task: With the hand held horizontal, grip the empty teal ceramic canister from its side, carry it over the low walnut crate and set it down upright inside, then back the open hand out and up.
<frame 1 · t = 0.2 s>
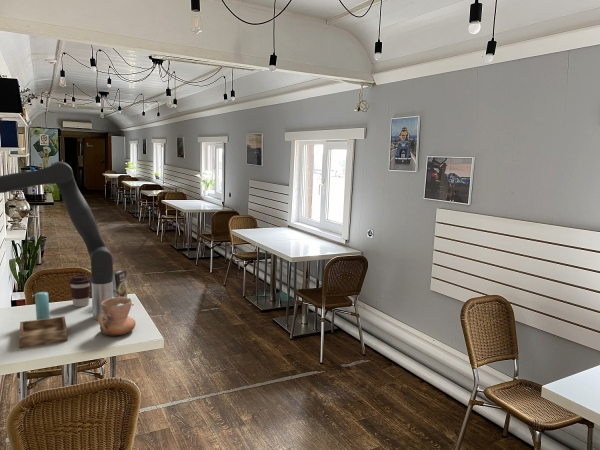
walnut crate: (43, 336, 197), on the table
coffee box: (117, 301, 243), on the table
ceramic jug: (117, 332, 204), on the table
teal canister: (43, 323, 211), on the table
coffee cup: (81, 304, 237), on the table
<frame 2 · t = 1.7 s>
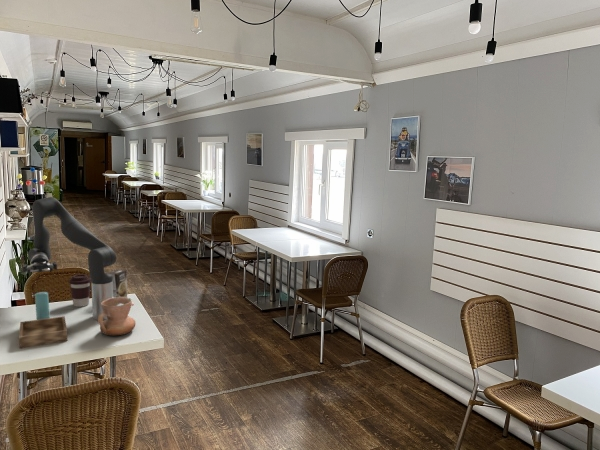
hand: (40, 270, 217), 22 cm above the table, tool horizontal, fingers open, 8 cm apart
nothing on the table moved.
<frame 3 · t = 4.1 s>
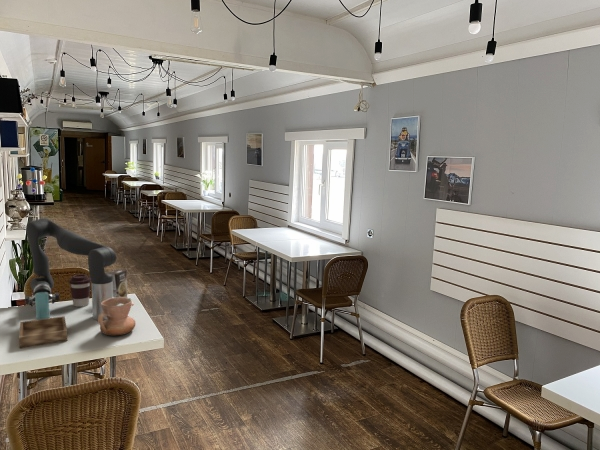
hand: (42, 302, 215), 8 cm above the table, tool horizontal, fingers open, 8 cm apart
nothing on the table moved.
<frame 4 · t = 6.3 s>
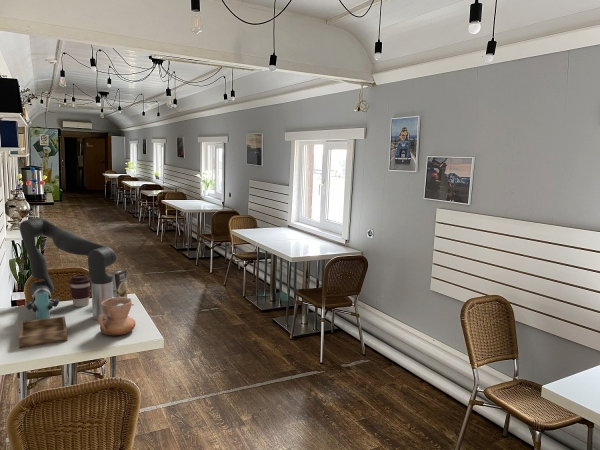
hand: (42, 308, 208), 8 cm above the table, tool horizontal, fingers closed on teal canister, 5 cm apart
teal canister: (43, 323, 211), on the table, touching gripper
everything else where it was.
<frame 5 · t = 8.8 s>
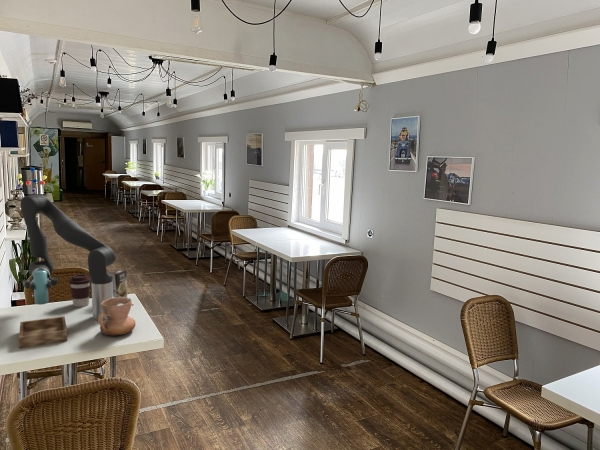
hand: (40, 287, 199), 20 cm above the table, tool horizontal, fingers closed on teal canister, 5 cm apart
teal canister: (41, 302, 202), point 12 cm above the table, touching gripper
everything else where it was.
when the fingers open (10 cm above the table, at t = 11.8 s): teal canister drops 1 cm, resting on walnut crate.
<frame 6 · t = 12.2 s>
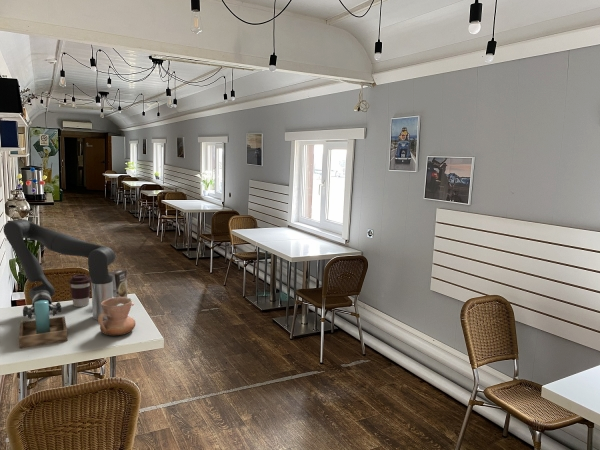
hand: (42, 314, 194), 10 cm above the table, tool horizontal, fingers open, 8 cm apart
teal canister: (43, 333, 197), point 1 cm above the table, touching walnut crate
everything else where it was.
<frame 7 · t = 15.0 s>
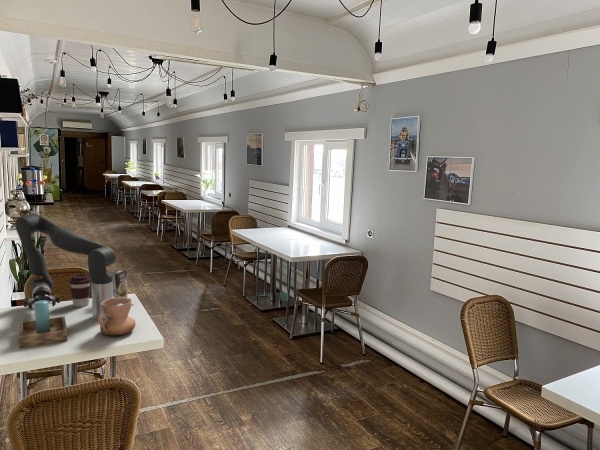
hand: (42, 305, 205), 10 cm above the table, tool horizontal, fingers open, 8 cm apart
nothing on the table moved.
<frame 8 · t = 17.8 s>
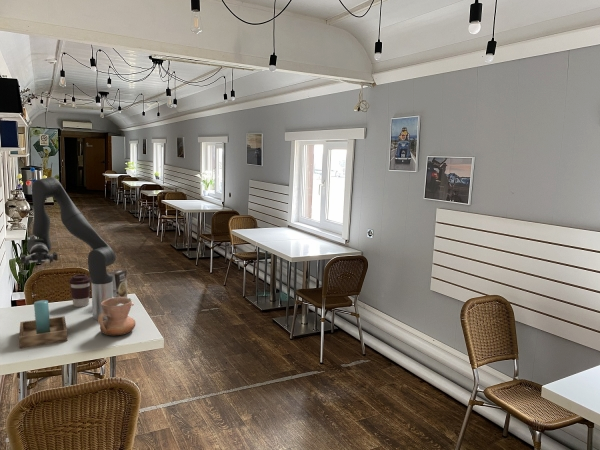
hand: (39, 261, 202), 30 cm above the table, tool horizontal, fingers open, 8 cm apart
nothing on the table moved.
at the end: teal canister inside the target area on the walnut crate (0.1 cm from its centre), point 1.1 cm above the walnut crate's base; teal canister tilted 1°; the gripper is holding nothing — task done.
